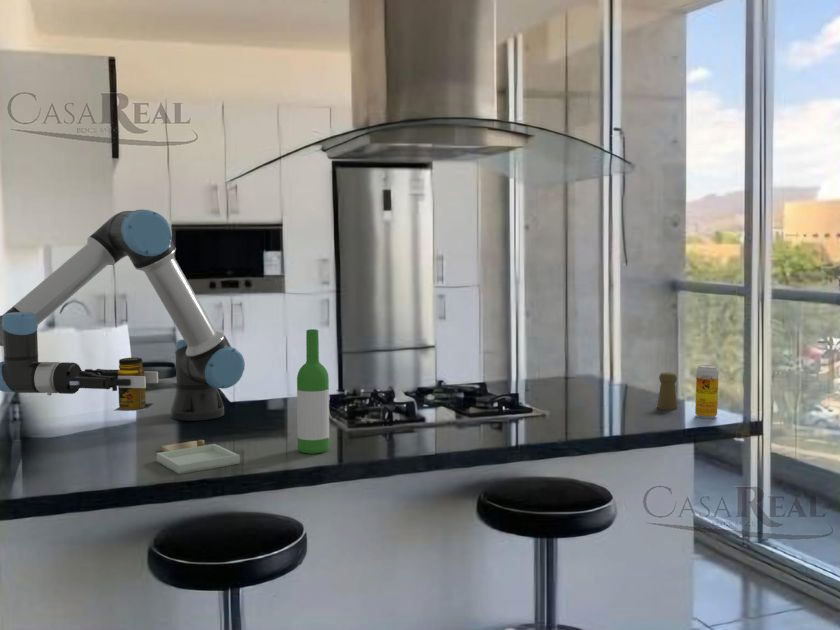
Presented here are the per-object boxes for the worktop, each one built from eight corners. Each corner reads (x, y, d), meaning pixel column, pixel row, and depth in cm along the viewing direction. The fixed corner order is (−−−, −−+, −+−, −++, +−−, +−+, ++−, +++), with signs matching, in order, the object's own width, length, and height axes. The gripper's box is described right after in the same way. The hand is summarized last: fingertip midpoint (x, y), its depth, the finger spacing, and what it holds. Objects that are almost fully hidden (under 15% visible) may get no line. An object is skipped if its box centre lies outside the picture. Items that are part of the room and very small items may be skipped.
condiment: (112, 411, 199) (110, 360, 198) (125, 404, 207) (123, 355, 206) (143, 411, 199) (141, 360, 197) (155, 404, 207) (153, 355, 206)
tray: (215, 451, 207) (214, 443, 207) (239, 463, 197) (239, 455, 196) (156, 461, 198) (156, 453, 198) (179, 474, 188) (179, 465, 187)
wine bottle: (291, 451, 207) (289, 330, 205) (312, 445, 214) (310, 327, 211) (315, 456, 203) (313, 332, 200) (335, 449, 210) (334, 329, 207)
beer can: (695, 418, 247) (696, 367, 245) (695, 413, 252) (696, 364, 251) (717, 419, 245) (719, 368, 244) (716, 415, 251) (718, 365, 249)
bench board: (195, 444, 214) (195, 434, 214) (209, 450, 208) (208, 440, 208) (161, 450, 209) (161, 440, 209) (173, 456, 203) (173, 446, 202)
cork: (679, 409, 259) (680, 374, 258) (659, 409, 259) (660, 374, 258) (674, 405, 265) (675, 371, 264) (654, 405, 265) (655, 370, 264)
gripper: (80, 386, 213) (168, 388, 210) (38, 401, 195) (133, 403, 192) (79, 356, 213) (167, 358, 210) (36, 368, 194) (132, 370, 191)
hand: (151, 379), depth 201 cm, fingers closed on condiment, 6 cm apart
